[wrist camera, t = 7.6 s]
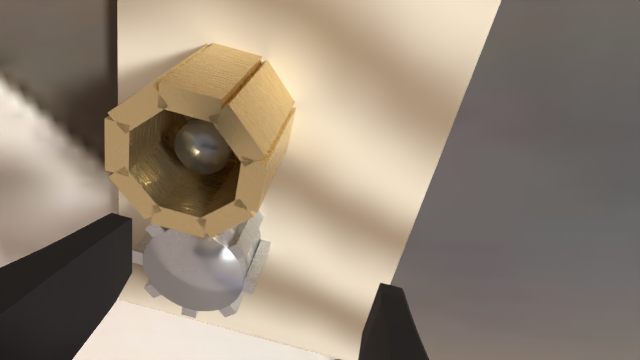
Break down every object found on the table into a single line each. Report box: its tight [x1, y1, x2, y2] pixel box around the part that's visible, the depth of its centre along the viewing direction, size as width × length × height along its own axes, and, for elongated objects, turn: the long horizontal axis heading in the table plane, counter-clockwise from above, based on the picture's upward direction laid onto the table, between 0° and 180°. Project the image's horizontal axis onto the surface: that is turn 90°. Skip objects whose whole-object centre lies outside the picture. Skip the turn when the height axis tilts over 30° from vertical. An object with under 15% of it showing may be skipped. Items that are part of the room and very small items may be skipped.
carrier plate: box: [117, 0, 501, 360], centre depth 22 cm, size 20×14×1 cm
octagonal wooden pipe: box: [105, 43, 296, 238], centre depth 18 cm, size 6×6×5 cm
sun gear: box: [132, 211, 271, 318], centre depth 22 cm, size 6×6×3 cm
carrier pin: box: [174, 117, 233, 174], centre depth 19 cm, size 2×2×4 cm
